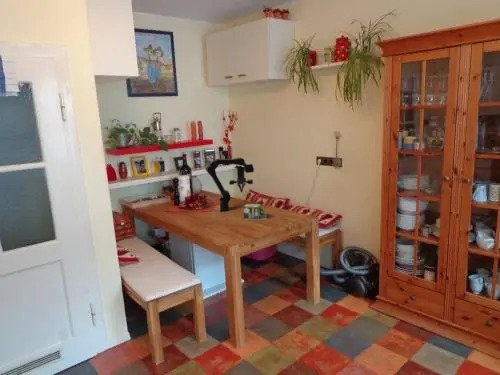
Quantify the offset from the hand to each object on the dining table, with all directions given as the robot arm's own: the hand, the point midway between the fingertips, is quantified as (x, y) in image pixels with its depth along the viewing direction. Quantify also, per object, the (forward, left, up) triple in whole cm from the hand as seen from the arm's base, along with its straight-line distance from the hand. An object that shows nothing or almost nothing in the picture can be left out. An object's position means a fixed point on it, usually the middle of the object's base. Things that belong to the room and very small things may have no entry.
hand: (241, 192), depth 298 cm
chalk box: (+4, -27, -8) cm, 29 cm away
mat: (+12, -26, -13) cm, 31 cm away
